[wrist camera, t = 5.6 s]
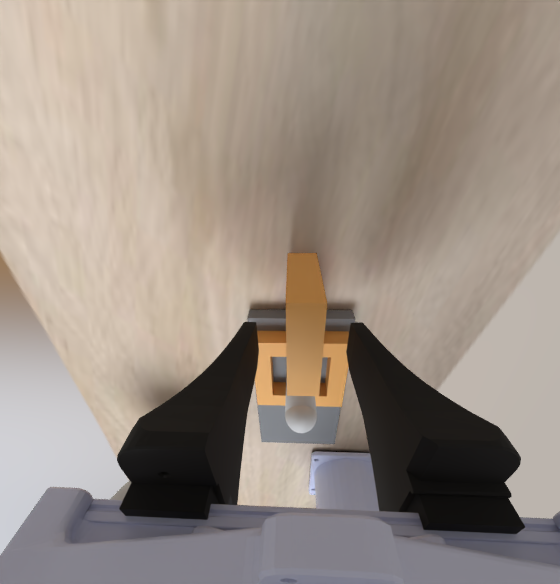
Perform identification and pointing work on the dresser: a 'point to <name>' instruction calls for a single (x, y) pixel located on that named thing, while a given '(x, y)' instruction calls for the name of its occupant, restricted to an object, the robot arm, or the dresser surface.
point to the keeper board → (277, 411)
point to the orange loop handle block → (303, 342)
